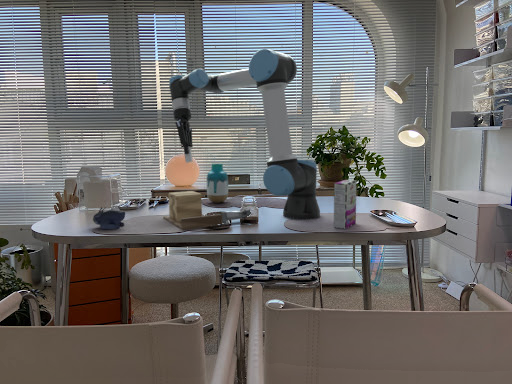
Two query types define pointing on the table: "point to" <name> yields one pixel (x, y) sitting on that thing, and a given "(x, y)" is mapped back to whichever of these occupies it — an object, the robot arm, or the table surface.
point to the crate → (184, 205)
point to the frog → (109, 218)
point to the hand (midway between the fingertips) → (189, 161)
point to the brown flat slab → (196, 221)
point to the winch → (234, 215)
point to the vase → (217, 184)
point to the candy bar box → (344, 203)
